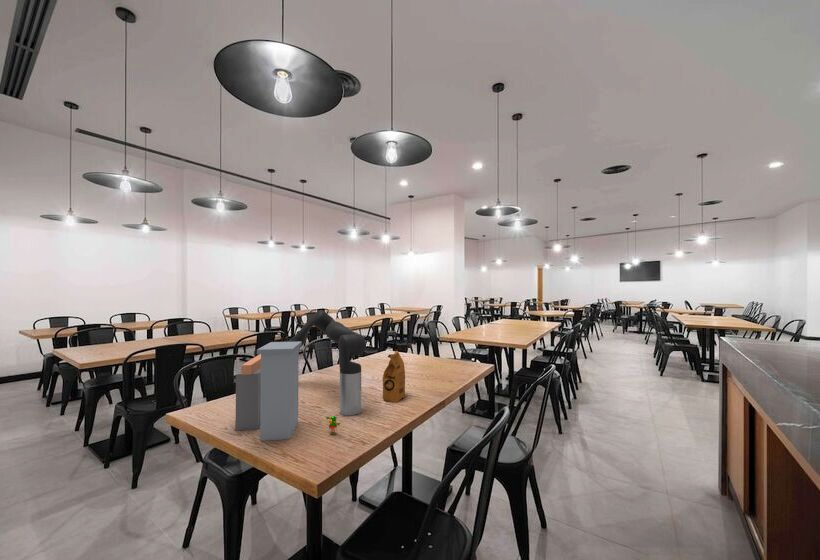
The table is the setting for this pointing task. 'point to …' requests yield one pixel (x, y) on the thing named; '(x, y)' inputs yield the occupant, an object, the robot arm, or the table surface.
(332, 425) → the toy character
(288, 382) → the pedestal
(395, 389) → the coffee package
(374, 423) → the table surface
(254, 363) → the bar
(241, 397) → the shelf
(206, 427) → the table surface
